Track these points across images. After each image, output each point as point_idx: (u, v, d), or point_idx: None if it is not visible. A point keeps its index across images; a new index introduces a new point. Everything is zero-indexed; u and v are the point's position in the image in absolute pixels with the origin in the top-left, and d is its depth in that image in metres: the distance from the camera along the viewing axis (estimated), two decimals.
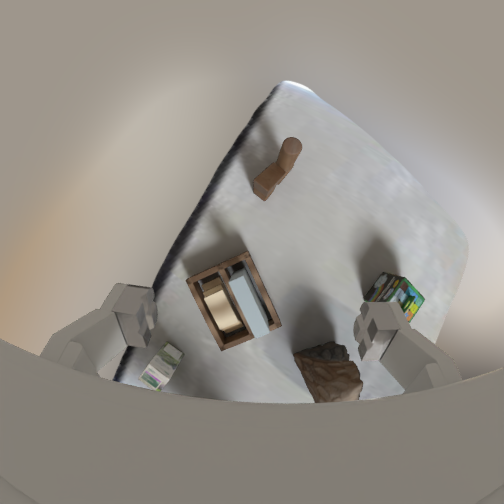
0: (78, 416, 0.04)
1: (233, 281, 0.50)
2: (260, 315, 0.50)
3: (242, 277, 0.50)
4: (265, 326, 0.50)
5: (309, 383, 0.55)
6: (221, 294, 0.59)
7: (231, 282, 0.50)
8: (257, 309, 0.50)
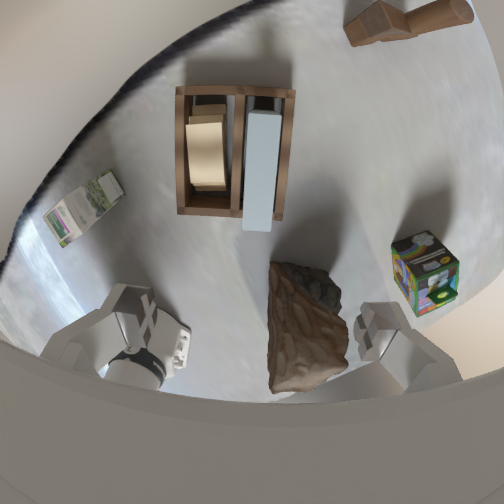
0: (78, 416, 0.04)
1: (258, 116, 0.23)
2: (271, 196, 0.27)
3: (278, 117, 0.23)
4: (269, 218, 0.28)
5: (275, 319, 0.41)
6: (216, 128, 0.32)
7: (254, 116, 0.23)
8: (272, 184, 0.26)
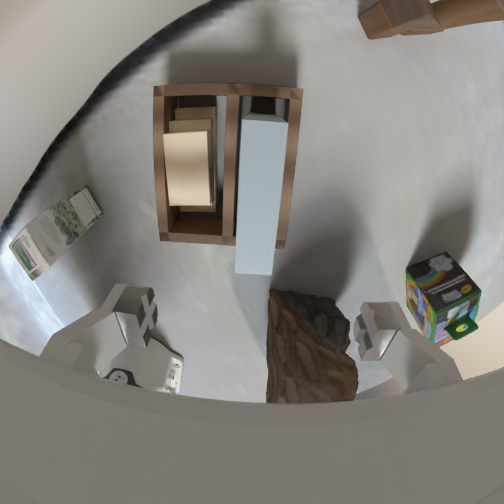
0: (78, 416, 0.04)
1: (256, 123, 0.16)
2: (273, 232, 0.20)
3: (284, 126, 0.16)
4: (269, 259, 0.22)
5: (276, 359, 0.35)
6: (200, 139, 0.25)
7: (250, 123, 0.16)
8: (274, 216, 0.20)
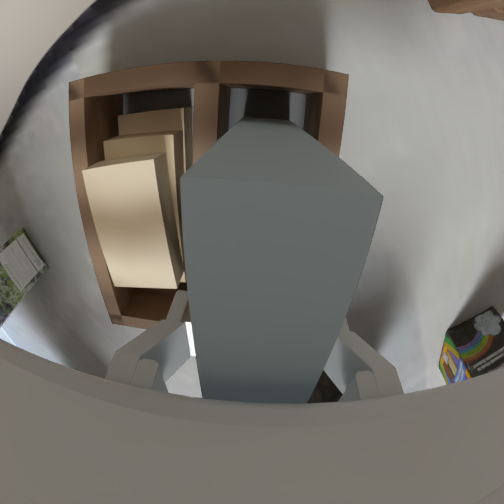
0: (78, 416, 0.04)
1: (245, 195, 0.04)
2: None
3: (364, 207, 0.04)
4: None
5: None
6: (143, 175, 0.13)
7: (216, 194, 0.04)
8: None
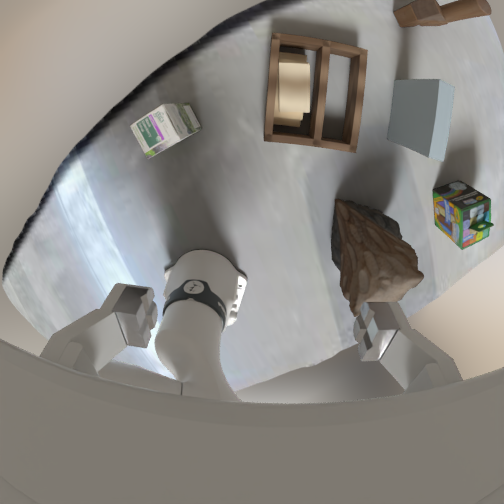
0: (78, 417, 0.04)
1: (444, 82, 0.24)
2: (446, 136, 0.29)
3: (453, 87, 0.24)
4: (444, 151, 0.30)
5: (352, 242, 0.43)
6: (305, 68, 0.33)
7: (442, 82, 0.24)
8: (448, 128, 0.28)
